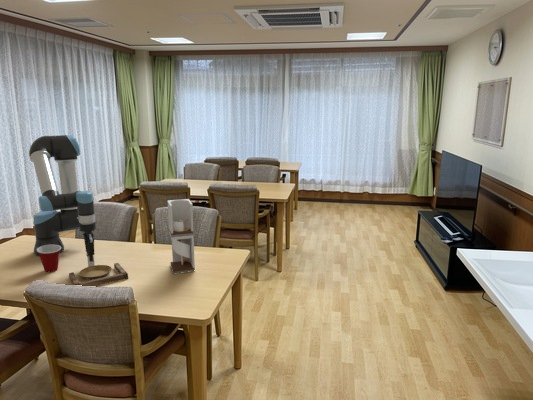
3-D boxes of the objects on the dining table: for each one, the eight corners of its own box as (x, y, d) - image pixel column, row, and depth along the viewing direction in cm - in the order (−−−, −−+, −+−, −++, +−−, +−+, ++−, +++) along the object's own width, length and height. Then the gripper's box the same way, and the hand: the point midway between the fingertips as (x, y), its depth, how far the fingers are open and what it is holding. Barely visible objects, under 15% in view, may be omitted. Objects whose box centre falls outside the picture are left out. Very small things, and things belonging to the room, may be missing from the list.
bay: (69, 277, 188) (68, 273, 188) (118, 267, 201) (117, 262, 201) (76, 290, 175) (75, 285, 175) (128, 278, 188) (127, 273, 188)
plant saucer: (73, 281, 185) (72, 276, 185) (89, 269, 200) (88, 264, 199) (103, 282, 184) (102, 277, 184) (117, 270, 199) (116, 265, 198)
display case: (170, 265, 204) (167, 200, 196) (191, 263, 208) (188, 199, 200) (173, 274, 194) (170, 205, 186) (194, 271, 197) (192, 204, 189)
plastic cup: (50, 276, 190) (47, 252, 187) (34, 272, 194) (31, 249, 191) (68, 267, 200) (66, 245, 197) (52, 264, 204) (49, 242, 201)
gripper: (76, 220, 197) (80, 264, 203) (81, 226, 187) (86, 272, 192) (92, 218, 201) (96, 260, 207) (98, 224, 191) (102, 269, 197)
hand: (91, 266), depth 200 cm, fingers closed
